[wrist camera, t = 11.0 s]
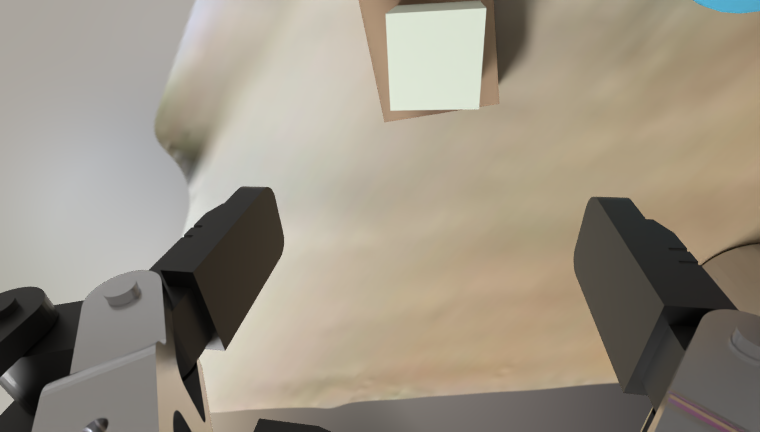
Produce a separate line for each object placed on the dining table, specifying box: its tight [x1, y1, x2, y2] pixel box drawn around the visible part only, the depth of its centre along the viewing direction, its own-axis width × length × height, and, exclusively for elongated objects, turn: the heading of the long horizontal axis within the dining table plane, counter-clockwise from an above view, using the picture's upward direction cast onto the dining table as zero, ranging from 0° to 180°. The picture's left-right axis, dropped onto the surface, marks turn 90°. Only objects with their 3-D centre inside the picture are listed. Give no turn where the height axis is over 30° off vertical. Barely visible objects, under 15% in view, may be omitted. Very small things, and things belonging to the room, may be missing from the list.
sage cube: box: [386, 0, 486, 111], centre depth 23 cm, size 5×5×5 cm
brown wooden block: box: [359, 0, 499, 122], centre depth 27 cm, size 8×8×4 cm
